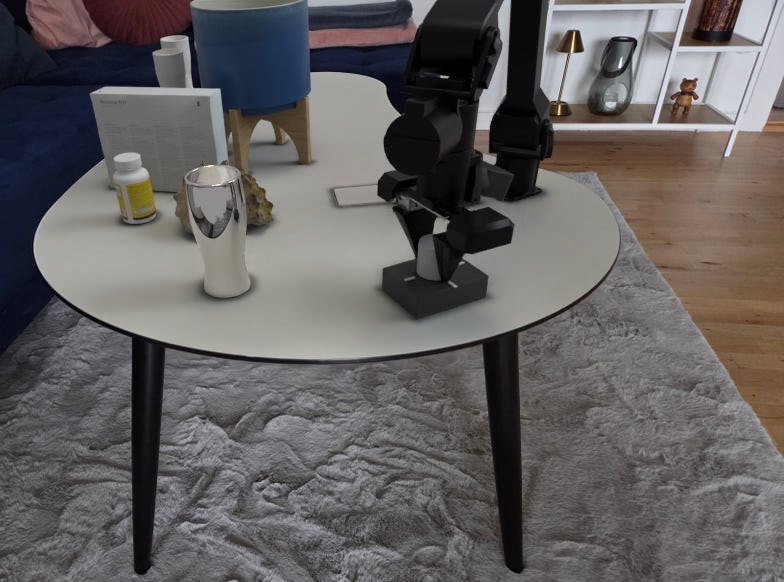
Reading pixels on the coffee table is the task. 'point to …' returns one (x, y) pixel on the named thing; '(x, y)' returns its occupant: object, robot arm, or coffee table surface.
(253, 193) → the seashell
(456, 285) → the timer panel
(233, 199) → the beer glass
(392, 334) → the coffee table surface
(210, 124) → the skincare box
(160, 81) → the binoculars
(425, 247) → the timer knob
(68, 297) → the coffee table surface
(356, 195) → the smartphone
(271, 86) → the planter
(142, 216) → the supplement bottle
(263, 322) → the coffee table surface
